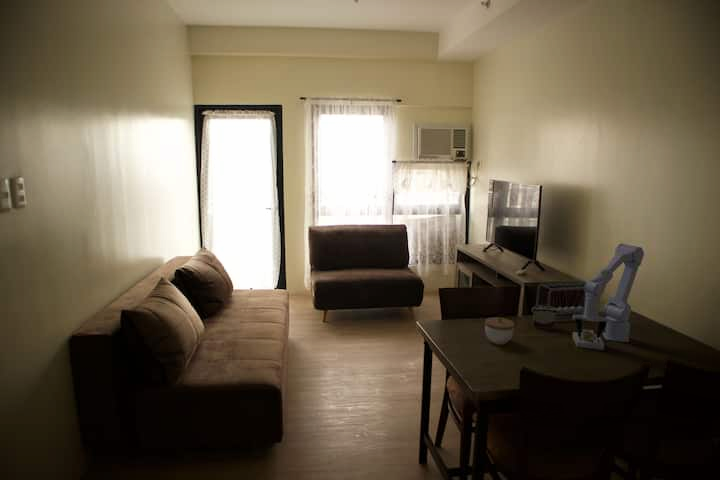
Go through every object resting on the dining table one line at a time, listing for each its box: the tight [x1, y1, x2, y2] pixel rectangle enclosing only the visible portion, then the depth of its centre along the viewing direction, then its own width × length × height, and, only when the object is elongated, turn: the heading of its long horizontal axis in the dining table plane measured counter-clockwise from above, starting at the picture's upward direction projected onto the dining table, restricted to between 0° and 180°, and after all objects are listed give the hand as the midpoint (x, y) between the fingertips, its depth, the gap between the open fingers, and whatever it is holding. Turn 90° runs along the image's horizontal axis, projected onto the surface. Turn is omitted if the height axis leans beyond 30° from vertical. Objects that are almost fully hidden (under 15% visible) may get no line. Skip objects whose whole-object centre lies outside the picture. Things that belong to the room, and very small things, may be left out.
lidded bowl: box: [484, 317, 515, 345], centre depth 215 cm, size 13×13×11 cm
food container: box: [531, 304, 558, 329], centre depth 236 cm, size 12×6×10 cm, turn 84°
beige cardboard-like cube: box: [582, 329, 596, 342], centre depth 216 cm, size 4×5×5 cm
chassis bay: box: [571, 331, 605, 351], centre depth 216 cm, size 11×12×2 cm
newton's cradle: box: [535, 281, 587, 324], centre depth 247 cm, size 30×10×18 cm, turn 103°
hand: (588, 336), depth 215 cm, fingers open, 7 cm apart
